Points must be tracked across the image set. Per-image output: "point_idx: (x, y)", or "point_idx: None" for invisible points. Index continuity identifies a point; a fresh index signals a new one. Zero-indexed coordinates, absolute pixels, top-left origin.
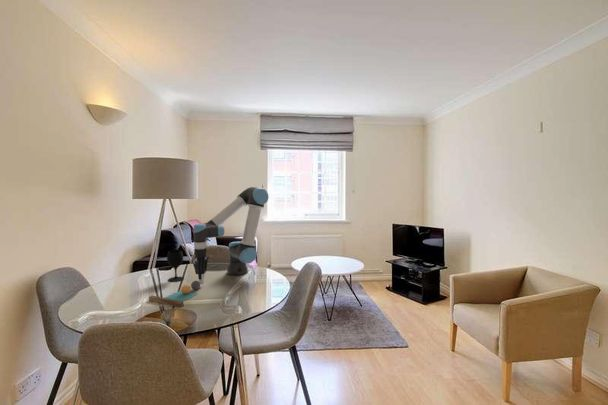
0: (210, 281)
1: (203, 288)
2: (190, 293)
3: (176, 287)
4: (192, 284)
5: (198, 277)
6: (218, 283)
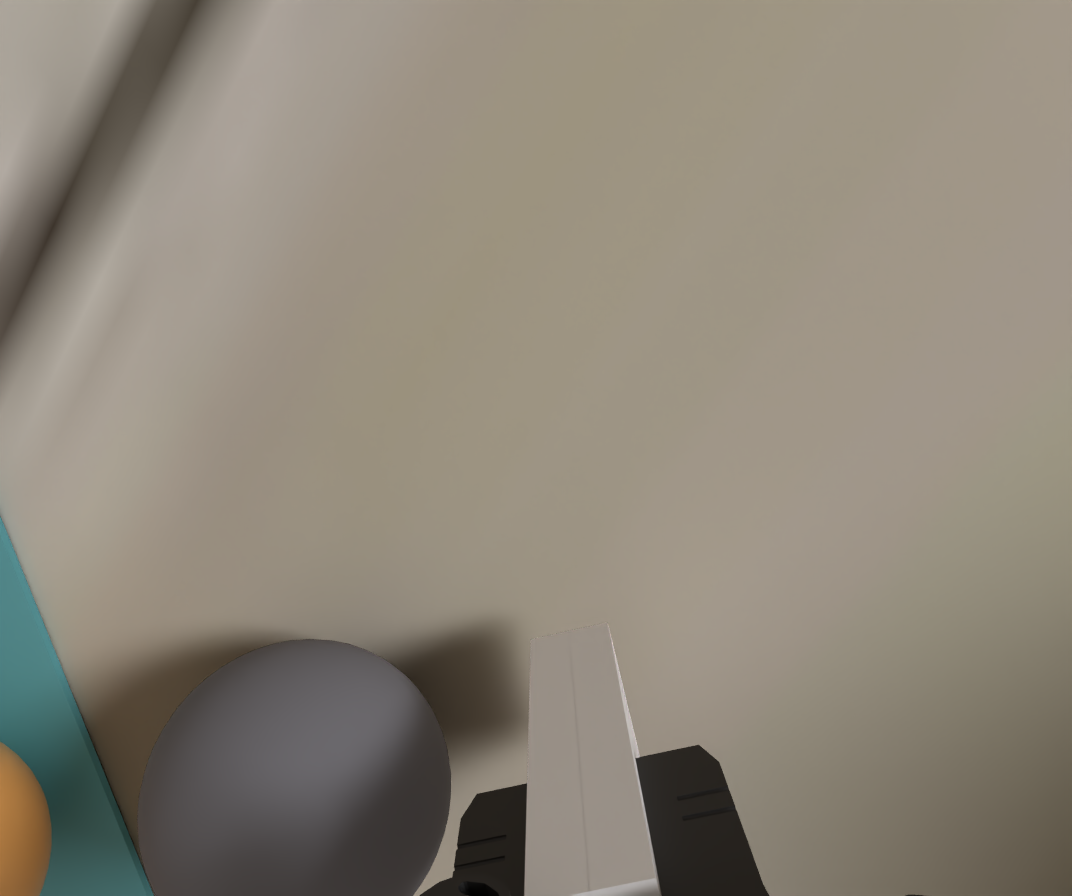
0: (1048, 489)
1: None
2: (65, 870)
3: (8, 58)
4: (142, 846)
5: (455, 865)
6: (1032, 817)
